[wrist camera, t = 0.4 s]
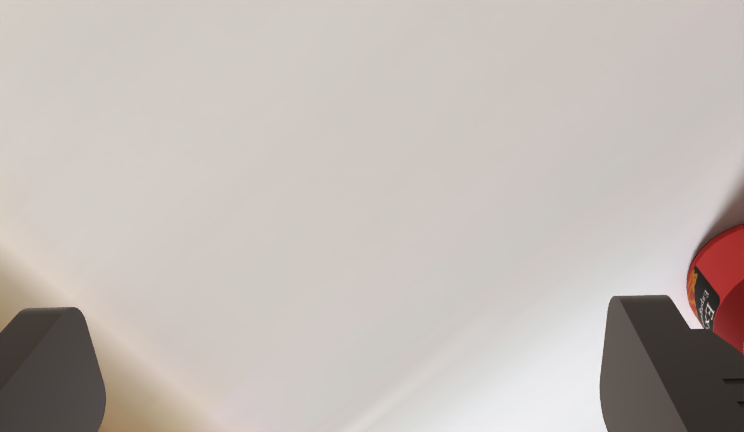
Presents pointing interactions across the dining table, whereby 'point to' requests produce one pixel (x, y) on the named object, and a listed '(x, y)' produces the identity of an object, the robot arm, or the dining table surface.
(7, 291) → the dining table surface
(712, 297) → the canned food
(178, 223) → the dining table surface
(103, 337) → the dining table surface
